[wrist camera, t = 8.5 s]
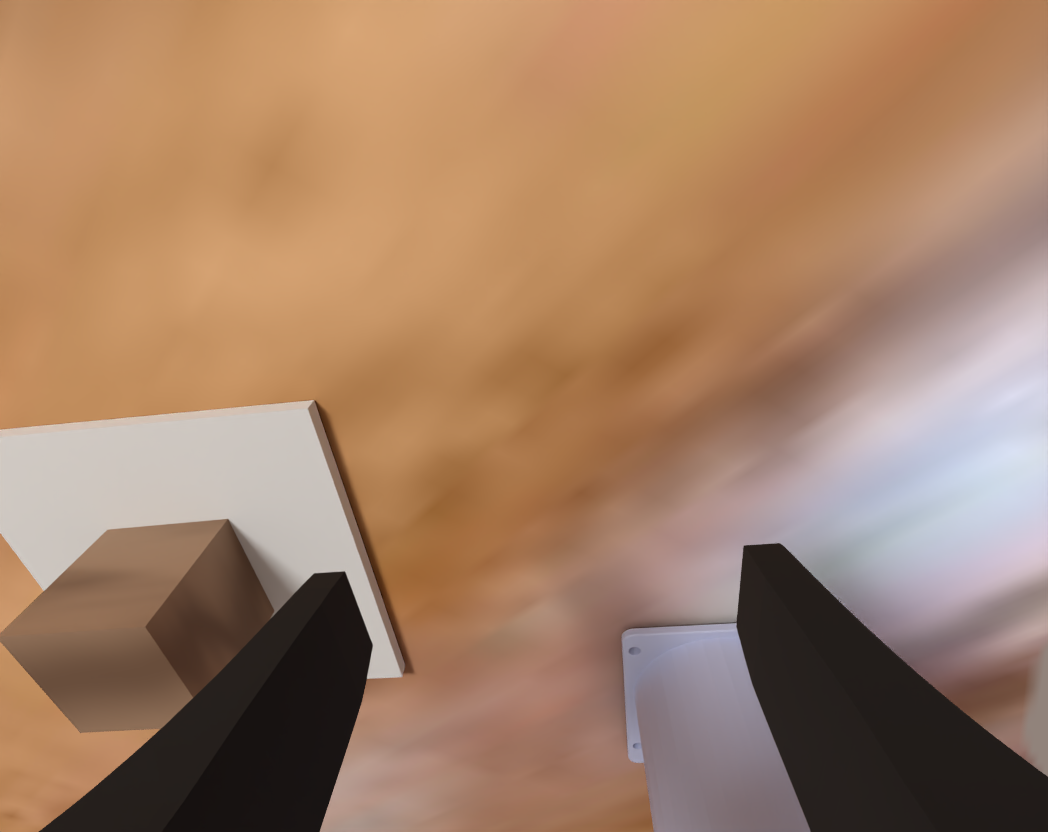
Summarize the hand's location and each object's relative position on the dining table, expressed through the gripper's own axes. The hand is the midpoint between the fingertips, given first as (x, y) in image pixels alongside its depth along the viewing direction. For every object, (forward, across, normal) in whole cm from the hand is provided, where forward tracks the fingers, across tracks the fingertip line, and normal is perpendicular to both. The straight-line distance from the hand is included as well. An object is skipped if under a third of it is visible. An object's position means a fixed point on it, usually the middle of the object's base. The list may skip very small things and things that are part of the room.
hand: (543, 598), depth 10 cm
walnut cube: (+9, +15, +7) cm, 19 cm away
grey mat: (+9, +15, +7) cm, 19 cm away
